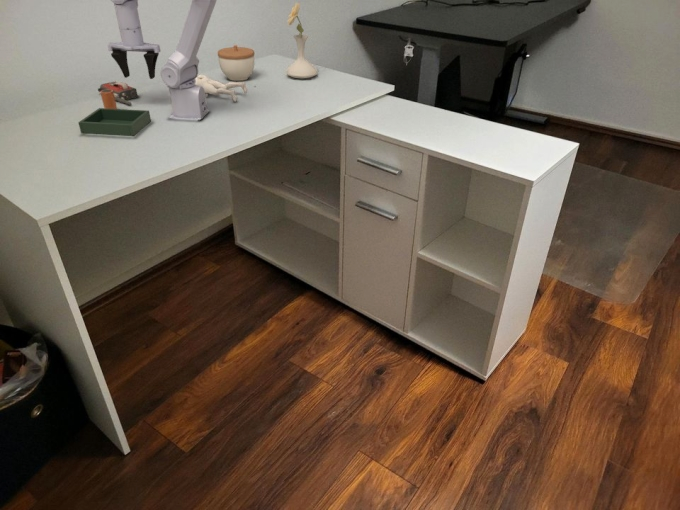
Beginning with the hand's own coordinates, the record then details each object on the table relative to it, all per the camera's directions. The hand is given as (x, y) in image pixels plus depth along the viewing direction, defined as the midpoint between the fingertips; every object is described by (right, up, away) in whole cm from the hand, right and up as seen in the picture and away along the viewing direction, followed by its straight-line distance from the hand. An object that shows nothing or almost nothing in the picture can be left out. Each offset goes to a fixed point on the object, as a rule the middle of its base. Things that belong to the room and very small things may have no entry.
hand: (139, 77), depth 152 cm
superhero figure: (+15, +1, +18) cm, 24 cm away
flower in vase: (+45, +12, +36) cm, 59 cm away
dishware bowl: (+22, +11, +33) cm, 42 cm away
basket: (-3, -17, -9) cm, 19 cm away
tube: (-8, -11, 0) cm, 14 cm away
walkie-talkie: (-10, -3, +13) cm, 17 cm away
